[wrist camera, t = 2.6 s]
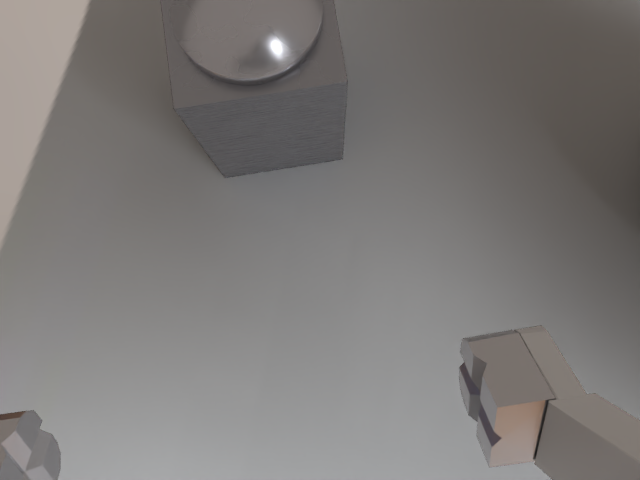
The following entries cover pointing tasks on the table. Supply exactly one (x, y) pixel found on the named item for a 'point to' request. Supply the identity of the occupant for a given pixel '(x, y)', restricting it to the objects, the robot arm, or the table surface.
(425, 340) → the table surface
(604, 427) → the robot arm
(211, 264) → the table surface
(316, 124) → the grey metal block
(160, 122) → the table surface
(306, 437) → the table surface
